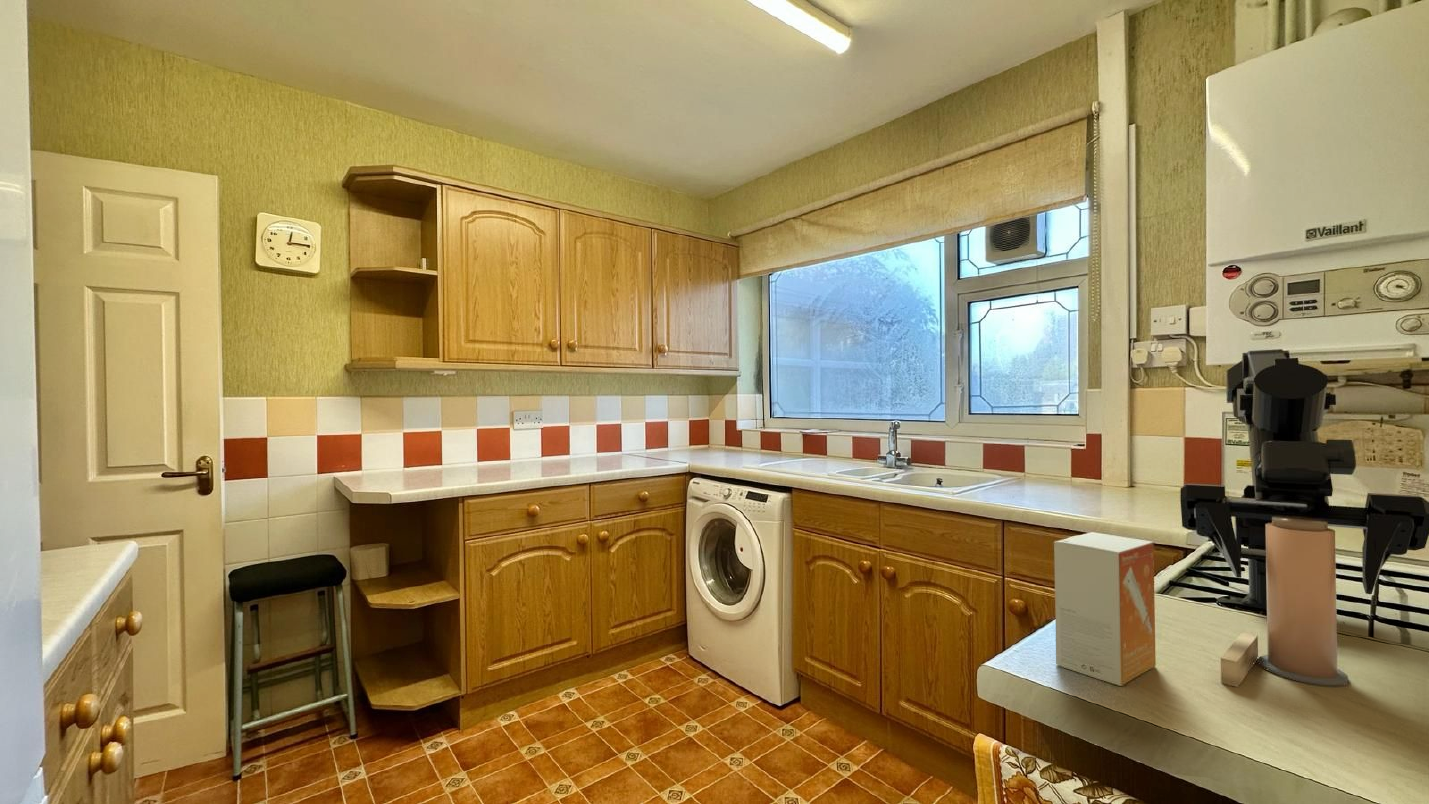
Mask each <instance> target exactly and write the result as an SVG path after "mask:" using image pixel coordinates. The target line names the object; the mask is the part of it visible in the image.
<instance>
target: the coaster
mask: <svg viewBox="0 0 1429 804" xmlns="http://www.w3.org/2000/svg"><path fill="white" fill-rule="evenodd" d="M1257 661H1259V662H1258V664H1259V663H1260V665H1261V666H1262V667H1263V668H1265V669H1268V670H1269V671H1271V672H1273V673H1275V674H1274V675H1276V674H1277V675H1276V676H1278V675H1280V676H1279V677H1281V676H1282V678H1284V677H1287V678H1290V679H1289V680H1291V679H1294V680H1296V681H1295V682H1298V681H1301V682H1300V683H1303V682H1305V683H1304V684H1308V683H1309V685H1313V684H1314V685H1316V686H1319V687H1321V686H1322V687H1323V686H1324V687H1342V686H1345V685H1344V684H1346V683H1347V682H1348V683H1349V676H1348V674H1346V673H1345V672H1344V671H1342V670H1341V669H1338V668H1337V670H1338V675H1337V677H1334V678H1316V677H1309V676H1304V675H1299V674H1295V673H1292V672H1288V671H1285V670H1282V669H1280V668H1278V667H1275V666H1273V665H1272V664H1270V663H1269V662H1268V654H1264V655H1260V656H1258V659H1257ZM1260 665H1259V666H1260ZM1261 666H1260V667H1261ZM1262 667H1261V668H1262ZM1263 668H1262V669H1263ZM1265 669H1264V670H1265ZM1269 671H1268V672H1269ZM1271 672H1270V673H1271ZM1273 673H1272V674H1273ZM1287 678H1286V679H1287ZM1294 680H1293V681H1294ZM1297 680H1298V681H1297ZM1348 683H1347V684H1348ZM1347 684H1346V685H1347ZM1314 685H1313V686H1314Z"/></svg>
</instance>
